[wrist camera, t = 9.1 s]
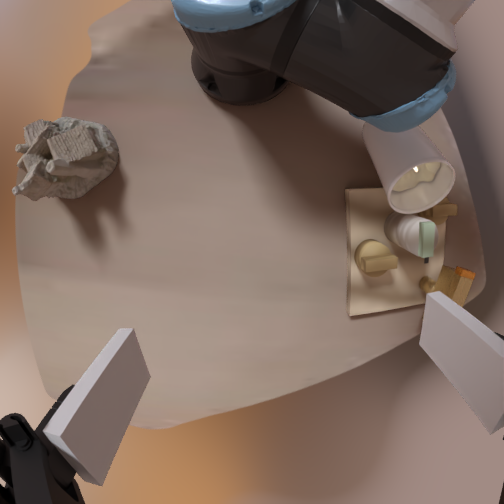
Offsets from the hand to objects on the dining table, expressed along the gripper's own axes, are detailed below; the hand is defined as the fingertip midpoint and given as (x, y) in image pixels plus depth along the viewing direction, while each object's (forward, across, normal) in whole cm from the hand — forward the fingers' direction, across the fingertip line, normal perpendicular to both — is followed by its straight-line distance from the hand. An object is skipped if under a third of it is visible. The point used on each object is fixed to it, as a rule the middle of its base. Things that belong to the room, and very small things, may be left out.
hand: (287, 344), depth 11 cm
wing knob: (+29, +26, -12) cm, 41 cm away
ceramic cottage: (+32, -30, +16) cm, 47 cm away
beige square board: (+32, +21, -6) cm, 39 cm away
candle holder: (+29, +19, +13) cm, 37 cm away
